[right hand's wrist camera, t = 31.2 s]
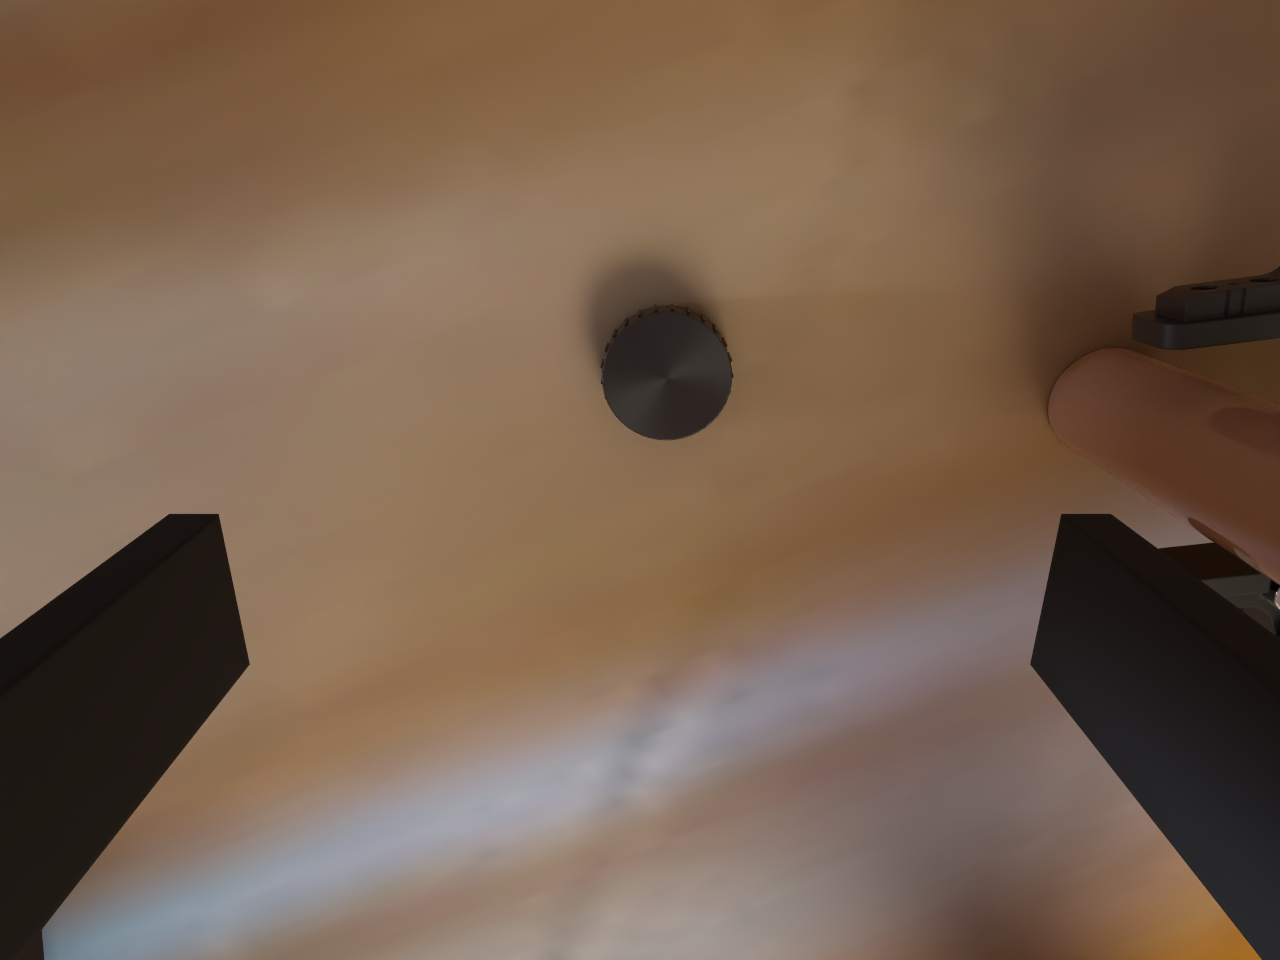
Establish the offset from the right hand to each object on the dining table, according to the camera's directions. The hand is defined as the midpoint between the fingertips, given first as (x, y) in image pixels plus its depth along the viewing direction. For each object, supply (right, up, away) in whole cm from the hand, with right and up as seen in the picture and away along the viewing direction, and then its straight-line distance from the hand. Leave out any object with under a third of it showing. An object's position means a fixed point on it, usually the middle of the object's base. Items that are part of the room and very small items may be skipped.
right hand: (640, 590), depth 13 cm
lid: (+1, +5, +16) cm, 16 cm away
